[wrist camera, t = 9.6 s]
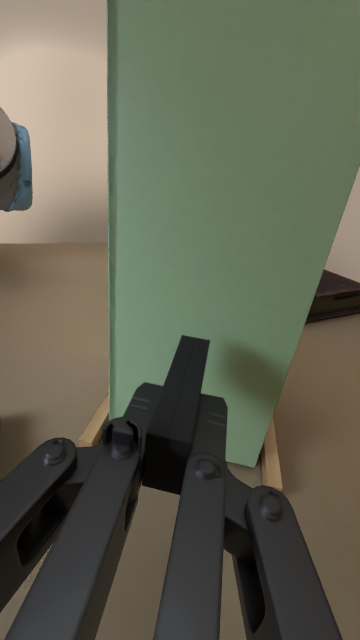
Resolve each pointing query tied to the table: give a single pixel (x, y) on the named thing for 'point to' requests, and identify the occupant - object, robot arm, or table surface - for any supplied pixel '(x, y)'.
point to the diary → (334, 297)
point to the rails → (268, 451)
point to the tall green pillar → (225, 188)
